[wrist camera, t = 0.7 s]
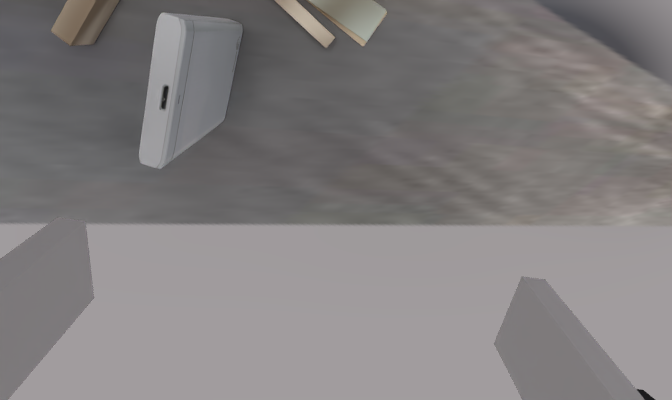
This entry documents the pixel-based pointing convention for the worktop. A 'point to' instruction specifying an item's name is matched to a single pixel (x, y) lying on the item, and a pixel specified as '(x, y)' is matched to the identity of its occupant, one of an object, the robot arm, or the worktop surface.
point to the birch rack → (98, 3)
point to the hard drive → (187, 83)
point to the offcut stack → (353, 16)
